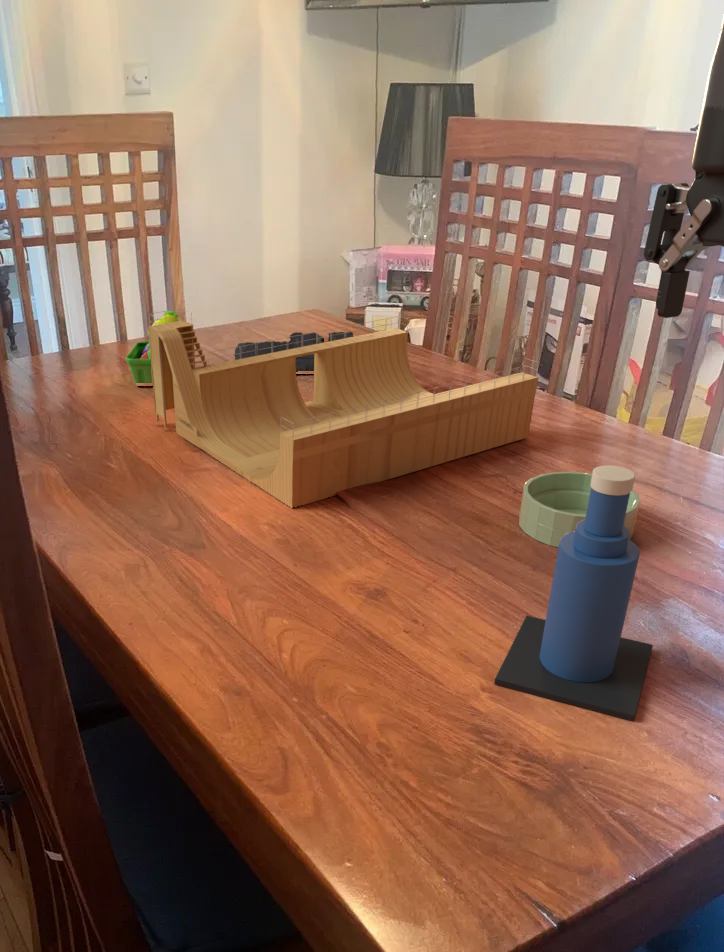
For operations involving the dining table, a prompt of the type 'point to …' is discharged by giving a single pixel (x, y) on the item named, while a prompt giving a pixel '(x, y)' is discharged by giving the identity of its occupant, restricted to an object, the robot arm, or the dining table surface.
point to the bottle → (592, 584)
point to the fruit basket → (146, 354)
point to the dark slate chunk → (288, 347)
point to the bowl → (561, 505)
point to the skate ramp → (329, 412)
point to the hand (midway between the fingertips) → (710, 325)
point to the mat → (602, 696)
